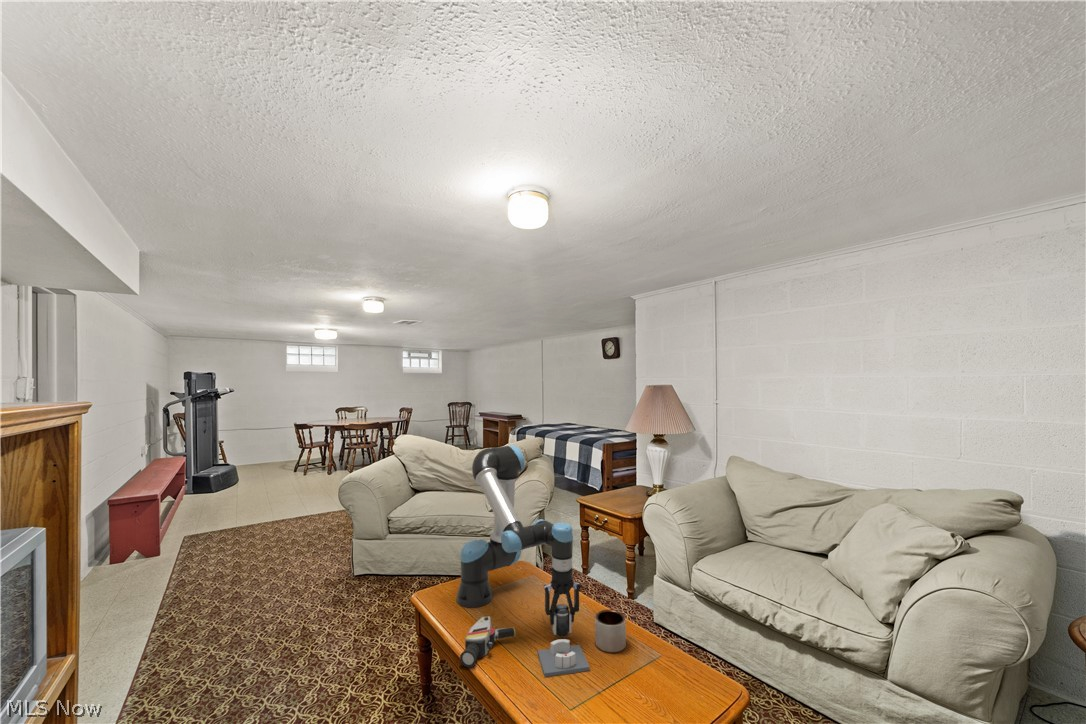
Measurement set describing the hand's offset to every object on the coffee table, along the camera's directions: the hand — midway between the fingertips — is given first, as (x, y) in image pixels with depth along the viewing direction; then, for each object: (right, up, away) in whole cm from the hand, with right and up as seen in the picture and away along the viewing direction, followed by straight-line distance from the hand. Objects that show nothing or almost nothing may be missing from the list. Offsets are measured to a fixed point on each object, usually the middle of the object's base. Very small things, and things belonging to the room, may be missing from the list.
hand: (561, 631), depth 162 cm
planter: (+17, -3, -3) cm, 18 cm away
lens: (0, -1, 0) cm, 1 cm away
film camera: (-26, -3, -7) cm, 27 cm away
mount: (0, -2, -13) cm, 13 cm away
